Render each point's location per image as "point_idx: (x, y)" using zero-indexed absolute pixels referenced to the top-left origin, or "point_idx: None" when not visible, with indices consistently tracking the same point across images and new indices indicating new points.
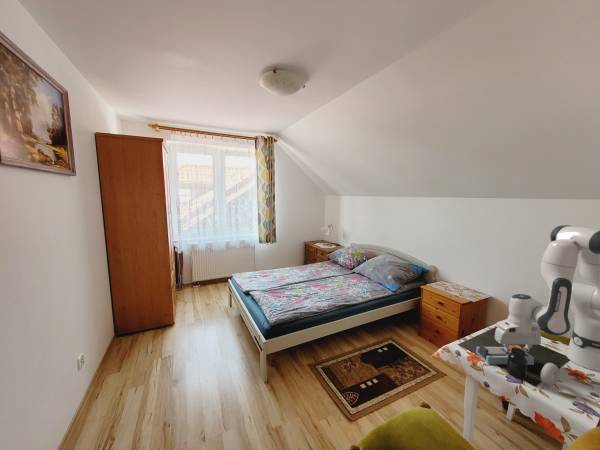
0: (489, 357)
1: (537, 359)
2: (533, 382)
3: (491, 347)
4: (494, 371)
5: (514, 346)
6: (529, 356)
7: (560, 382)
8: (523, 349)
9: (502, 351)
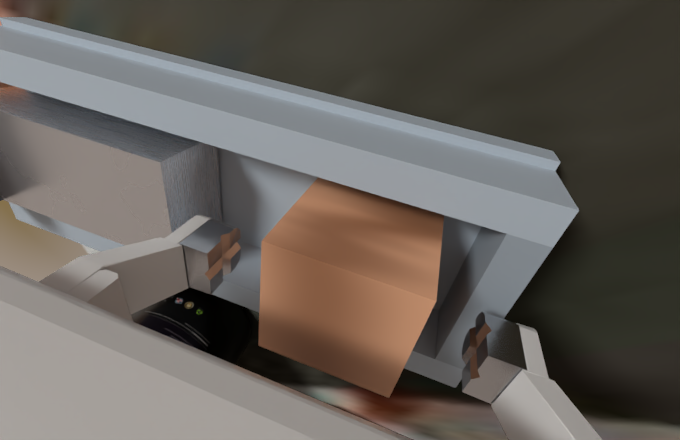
0: (29, 220)
1: (629, 306)
2: (254, 371)
3: (93, 93)
4: (96, 252)
5: (326, 295)
6: (429, 361)
7: (413, 435)
8: (391, 379)
9: (156, 228)
